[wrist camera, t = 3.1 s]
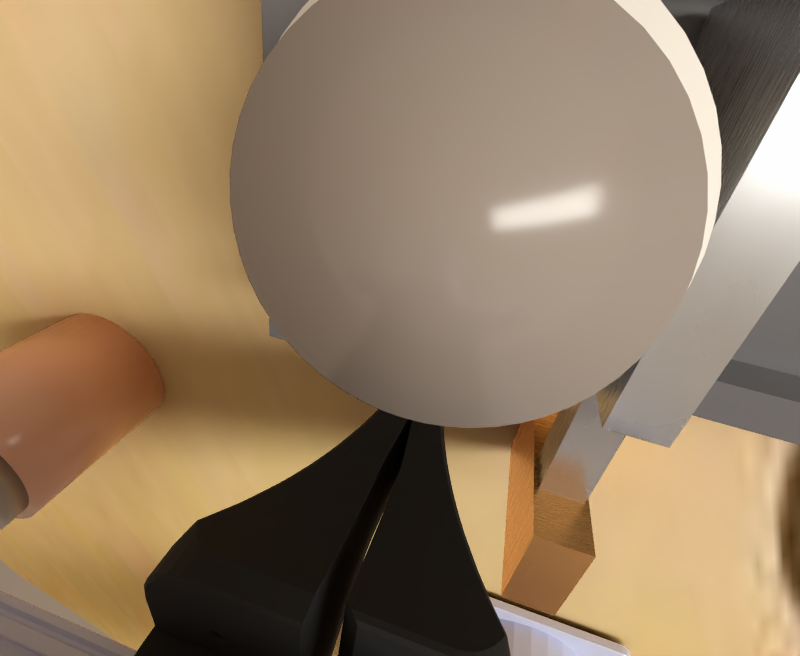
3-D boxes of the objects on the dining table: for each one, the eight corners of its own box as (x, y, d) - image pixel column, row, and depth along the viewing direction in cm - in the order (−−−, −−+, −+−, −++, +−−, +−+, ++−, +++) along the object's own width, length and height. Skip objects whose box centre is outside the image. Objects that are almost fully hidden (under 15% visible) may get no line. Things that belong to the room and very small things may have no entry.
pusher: (548, 457, 14) (554, 620, 9) (511, 446, 14) (500, 601, 10) (760, 24, 7) (1027, -45, 3) (688, 14, 8) (861, -63, 4)
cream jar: (567, 288, 10) (600, 497, 5) (369, 239, 11) (223, 379, 6) (668, 35, 7) (954, -67, 2) (396, -5, 8) (170, -143, 3)
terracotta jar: (172, 427, 19) (36, 556, 14) (77, 394, 19) (-86, 505, 14) (153, 333, 16) (-25, 449, 11) (44, 299, 17) (-170, 394, 12)
